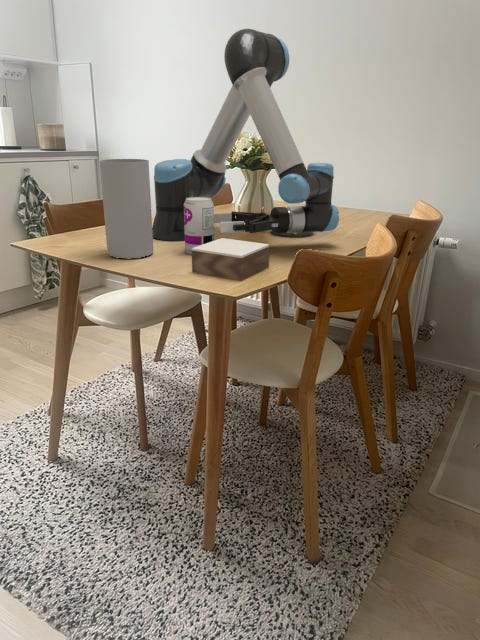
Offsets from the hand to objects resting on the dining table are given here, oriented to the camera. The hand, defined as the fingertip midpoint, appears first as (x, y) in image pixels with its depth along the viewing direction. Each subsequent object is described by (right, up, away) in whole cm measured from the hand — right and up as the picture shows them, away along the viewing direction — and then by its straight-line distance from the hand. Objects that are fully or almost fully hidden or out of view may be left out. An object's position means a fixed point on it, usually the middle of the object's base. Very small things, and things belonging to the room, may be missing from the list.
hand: (214, 222), depth 141 cm
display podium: (+5, -15, -14) cm, 21 cm away
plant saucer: (+25, +2, +29) cm, 38 cm away
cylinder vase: (-23, -9, 0) cm, 25 cm away
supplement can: (-4, -8, +3) cm, 10 cm away
